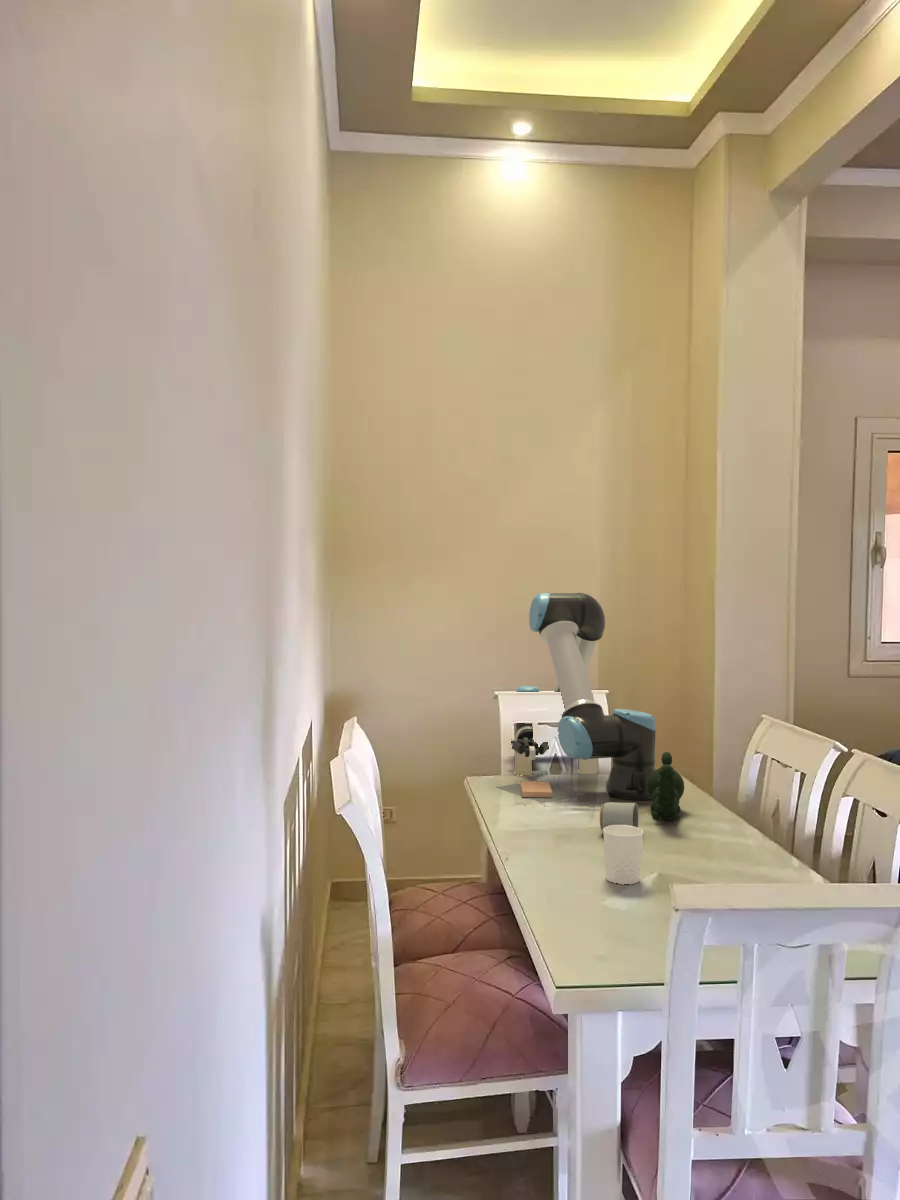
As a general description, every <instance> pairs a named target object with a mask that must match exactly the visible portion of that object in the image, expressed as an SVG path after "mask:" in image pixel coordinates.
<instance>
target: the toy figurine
mask: <svg viewBox="0 0 900 1200" xmlns="http://www.w3.org/2000/svg"><path fill="white" fill-rule="evenodd" d="M672 763H673V756H672V754H671V753H670V752H669V751H665V752H663V753H662V755H661V764H662V765H661V766H660V768H657V769H656V770H655V771H654V772H652V773H651V775H650V776H649V778H648V781H647V789H648V792H649V795H650V796H651V798H652V799H651V801H652V803H651V805H650V807H649V808H650V810H651V813H650V814H651V818H652V819H654V820H658V821H660V820H661V819H667V820H669V819H670V821H672V822H675V821H678V820H680V818H681V816H680V812H681V810H682V809H681V806H680V805H679V804H680V800H681V798H682V796H683V794H684V792H685V782H684V780H683V777H682V775H681V774H680V773H679V772H678V771H676V769H674V767H672Z"/></svg>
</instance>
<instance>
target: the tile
mask: <svg viewBox="0 0 900 1200" xmlns="http://www.w3.org/2000/svg"><path fill="white" fill-rule="evenodd" d="M519 783H520V787H521V792H522V796H521V797H522V798H526V797H535V798H551V797H552V790H551V787H550V784H551V783H550V782H549V781H544V782H538V781H536V780H532V781H531V780H529V781H528V780H527V781H526V780H521V781H520V782H519ZM549 783H550V784H549Z"/></svg>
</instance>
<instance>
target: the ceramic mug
mask: <svg viewBox="0 0 900 1200" xmlns="http://www.w3.org/2000/svg"><path fill="white" fill-rule="evenodd" d="M639 819H640V816H639V808H638V804H637V803H636V802H614V801H613V802H610V801H609V802H605V803H603V804H601V808H600V813H599V825H600V830H601V832H602V834H603V835H602V836H603V837H604V831H603V829H604V828H605V827H607V826H610V825H629V826H634V827H638V828H639V821H640V820H639Z"/></svg>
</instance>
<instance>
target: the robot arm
mask: <svg viewBox="0 0 900 1200" xmlns="http://www.w3.org/2000/svg"><path fill="white" fill-rule="evenodd" d="M528 616H529V617H528V621H529V623H528V624H529V627H530V630H531V631H532V632H533V633H534V632H535V633H539V636H540V640H541V641H542V642H543V643H546V644H547V646H548V650H549V655H550V658H551V662H552V666H553V669H554V670H553V671H554V674H555V676H556V680H557V683H556V684H557V685H556V688H555V690H554V692H561V696H562V700H563V704H564V708H565V711H564V712H563V714H561V718H560V720H558V723H557V724H558V725H557V732H558V734H557V737H558V741H559V745H560V747H561V749H562V751H563V752H564V754H565V755H566V756H567V757H569V758H570V759H573V760H574V759H575V760H586V761H587V760H590V759H591V760H592V759H606V758H607V759H609V758H611V759H612V765H611V768H610V772H609V775H608V779H607V781H606V784H605V791H606V792H607V794H608V795H609V796H611V797H613V798H618V799H623V800H624V799H625V800H632V801H633V800H634V801H644V800H645V801H646V800H652V798H651V796H650V795H649V792H648V789H647V781H648V778H649V776H650V775H651V773H652V772H654V771H655V770H657V769H656V741H657V740H656V737H657V735H656V733H657V728H656V727H657V726H656V719H655V717H654V716H653V715H652V714H650V713H647V712H643V711H639V710H632V709H626V708H615V709H613V712H612V714H605V713H604V710H603V707H602V706H601V704H599V703H597V702H595V699H594V694H593V692H592V688H591V684H590V680H589V678H588V675H587V670H588V667H589V664H590V662H591V659H592V657H593V654H594V650H595V647H596V644H597V642H598V641H600V640H601V639H602V637H603V635H604V632H605V629H606V628H605V626H606V617H605V613H604V609H603V608H602V606H601V604H600V602H598V600H597V599H595V598H594V597H593V596H592V595H590V594H588V593H583V592H575V593H574V592H570V593H569V592H565V593H564V592H562V593H561V592H560V593H559V592H557V593H556V592H554V593H553V592H552V593H551V592H546V593H545V592H544V593H543V592H542V593H541V592H540V593H537V594H536V595H535V596H534V597H533V599H532V600H531V603H530V607H529V613H528ZM539 689H540V688H539V687H538V686H536V685H535V686H534V685H530V686H529V685H521V686H518V687H517V688H516V692H540V690H539ZM516 692H515V693H516ZM514 725H515V728H514V737H515V740H514V739H512V740H513V741H511V745H512V749H511V750H513V751H515V752H516V753H518V754H519V755H523V754H524V757H526V758H529V760H531V761H535V760H536V756H539V755H540V756H541V755H544V754H545V753H546V752H547V751H548V750H550V749H549V745H548V742H543V743H542V744H541V745H540V747H538V744H537V743H536V742H534V740H533V727H532V724H525V723H517V724H514Z"/></svg>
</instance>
